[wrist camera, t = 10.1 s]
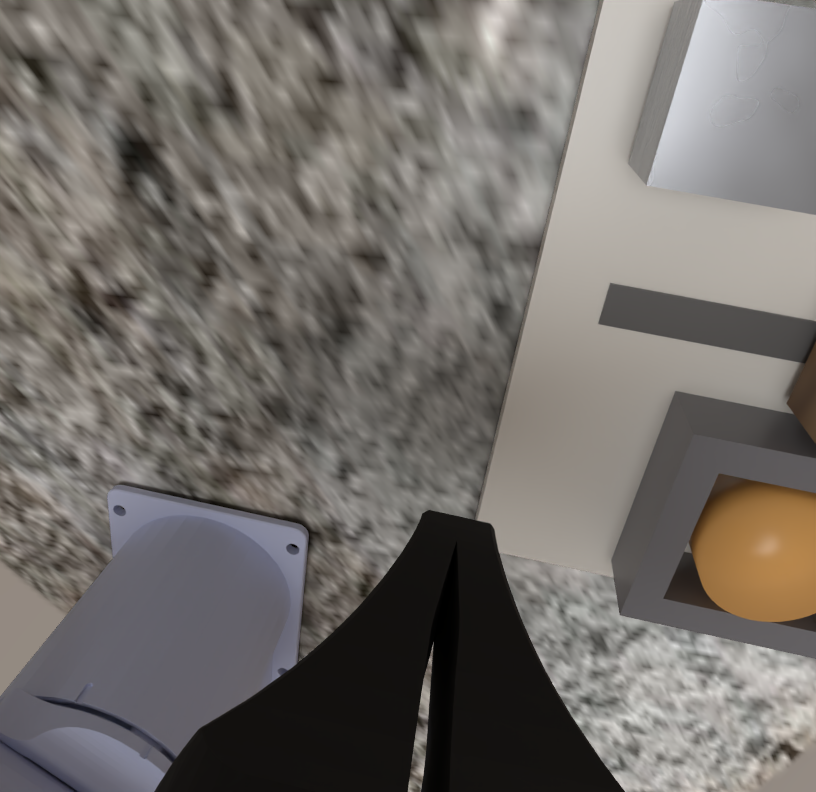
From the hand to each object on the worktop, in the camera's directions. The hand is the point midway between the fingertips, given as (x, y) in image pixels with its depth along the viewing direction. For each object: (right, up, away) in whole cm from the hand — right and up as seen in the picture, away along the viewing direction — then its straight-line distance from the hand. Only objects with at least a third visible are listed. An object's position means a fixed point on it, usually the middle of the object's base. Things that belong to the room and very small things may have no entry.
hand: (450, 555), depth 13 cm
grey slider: (+7, +10, +2) cm, 12 cm away
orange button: (+10, 0, +7) cm, 12 cm away
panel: (+9, +5, +7) cm, 12 cm away
